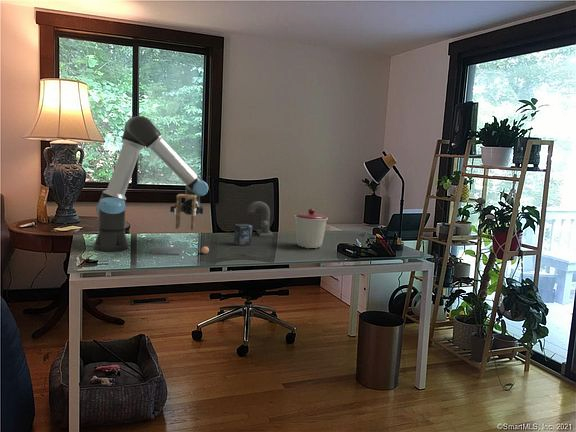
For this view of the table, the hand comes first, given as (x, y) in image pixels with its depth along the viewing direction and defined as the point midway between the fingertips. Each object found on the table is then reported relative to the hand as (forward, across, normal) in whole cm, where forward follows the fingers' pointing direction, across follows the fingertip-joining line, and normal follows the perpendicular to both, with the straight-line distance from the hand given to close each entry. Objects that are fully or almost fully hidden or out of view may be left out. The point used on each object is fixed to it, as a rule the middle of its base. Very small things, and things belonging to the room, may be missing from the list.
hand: (184, 212), depth 229 cm
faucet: (-64, -37, -20) cm, 77 cm away
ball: (-4, -10, -20) cm, 23 cm away
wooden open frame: (-5, 0, -8) cm, 9 cm away
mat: (-5, +8, -20) cm, 22 cm away
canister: (-33, -64, -20) cm, 74 cm away
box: (-31, -28, -20) cm, 46 cm away
